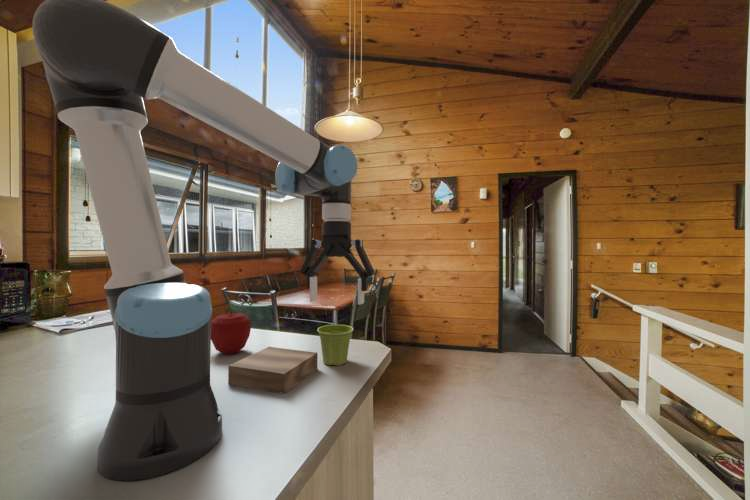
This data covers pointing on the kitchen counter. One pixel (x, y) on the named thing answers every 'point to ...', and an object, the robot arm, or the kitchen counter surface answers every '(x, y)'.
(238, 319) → the apple
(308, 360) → the walnut plinth
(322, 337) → the plant pot
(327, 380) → the kitchen counter surface
